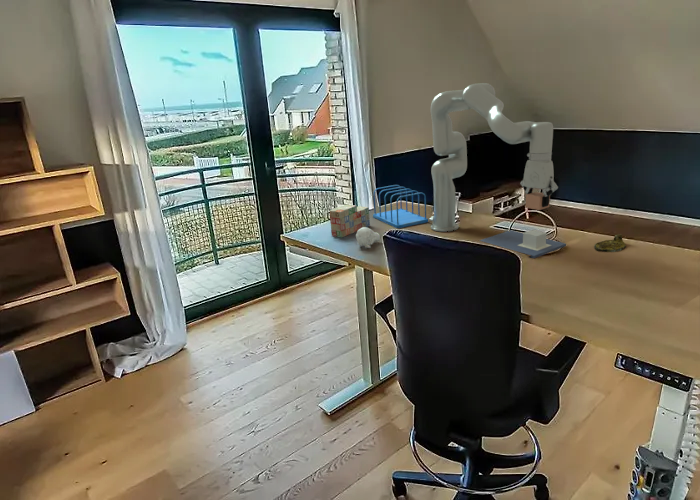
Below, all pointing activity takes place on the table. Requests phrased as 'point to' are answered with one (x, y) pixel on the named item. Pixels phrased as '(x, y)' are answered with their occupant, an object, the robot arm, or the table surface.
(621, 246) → the seal
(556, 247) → the board
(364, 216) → the stack of blocks
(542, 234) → the base block
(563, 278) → the table surface
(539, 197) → the top block
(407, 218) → the file sorter
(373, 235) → the white animal figurine
